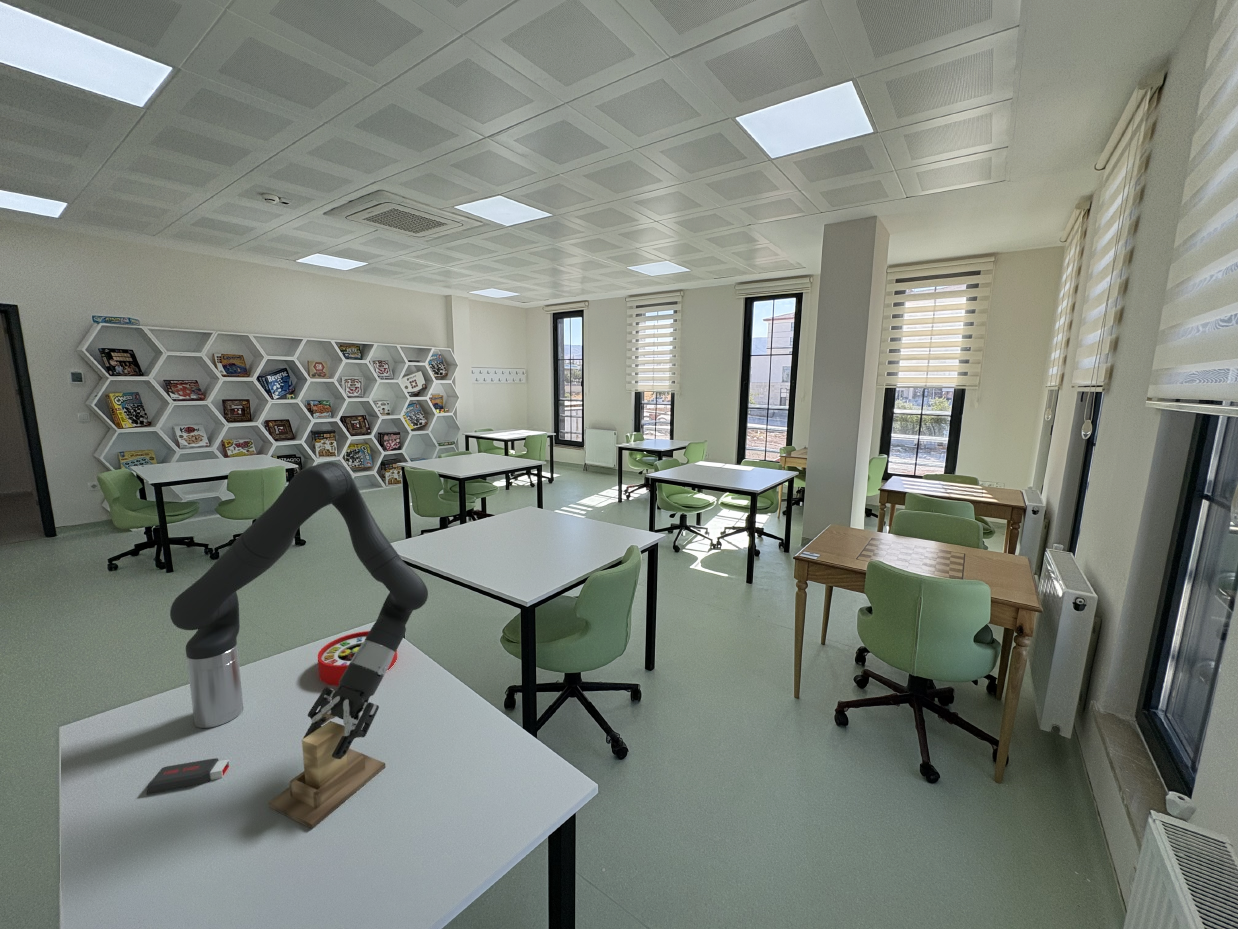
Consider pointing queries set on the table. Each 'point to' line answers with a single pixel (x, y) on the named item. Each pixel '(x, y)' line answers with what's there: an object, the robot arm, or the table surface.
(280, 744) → the table surface
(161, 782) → the usb drive
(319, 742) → the oak plank
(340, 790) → the groove board
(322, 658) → the toy clock
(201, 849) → the table surface
